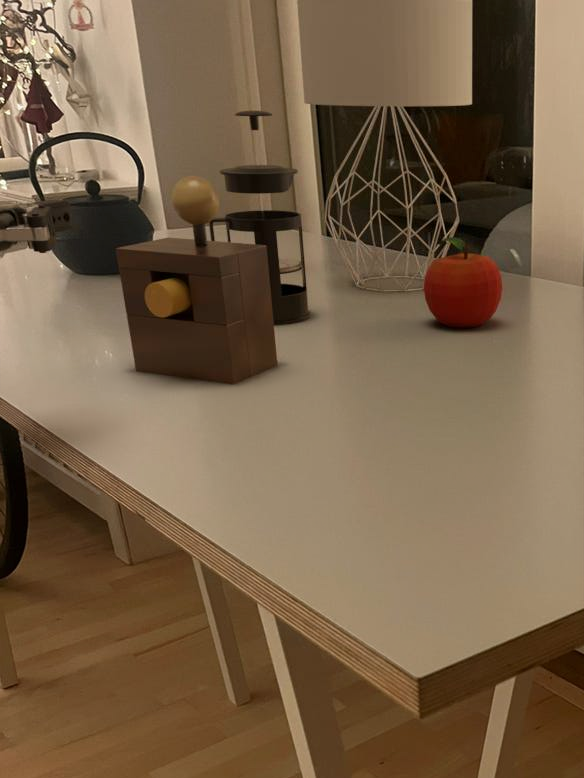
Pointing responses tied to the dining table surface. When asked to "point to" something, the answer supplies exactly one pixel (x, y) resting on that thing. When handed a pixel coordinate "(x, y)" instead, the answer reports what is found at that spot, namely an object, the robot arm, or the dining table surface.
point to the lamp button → (168, 297)
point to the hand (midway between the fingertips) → (64, 214)
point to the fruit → (462, 287)
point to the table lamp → (387, 85)
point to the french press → (268, 228)
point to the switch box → (200, 299)
